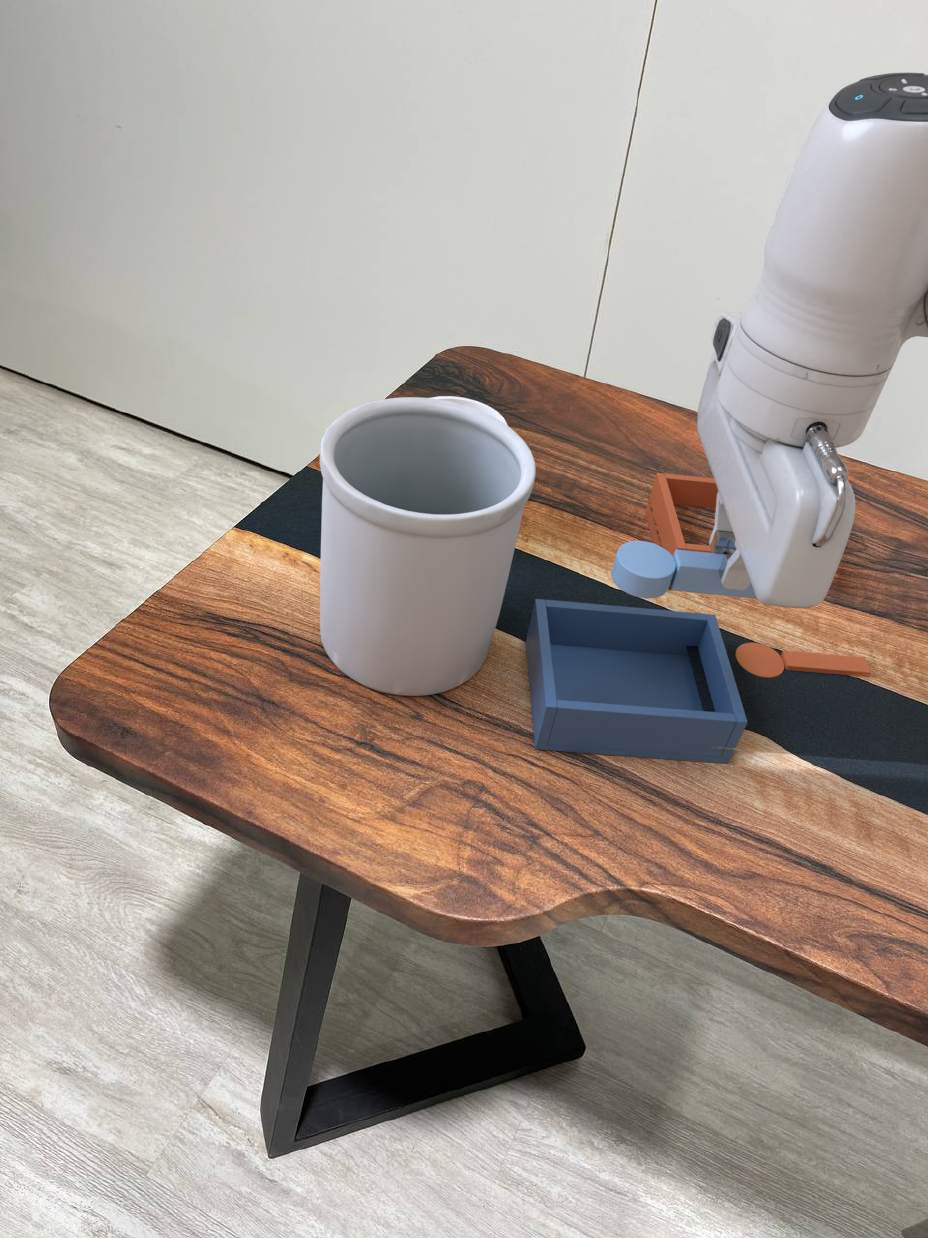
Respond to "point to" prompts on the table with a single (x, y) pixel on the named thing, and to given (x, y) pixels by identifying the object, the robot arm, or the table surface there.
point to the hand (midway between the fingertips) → (726, 567)
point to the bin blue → (629, 683)
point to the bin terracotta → (664, 498)
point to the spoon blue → (669, 571)
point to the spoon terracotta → (796, 662)
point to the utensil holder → (417, 540)
